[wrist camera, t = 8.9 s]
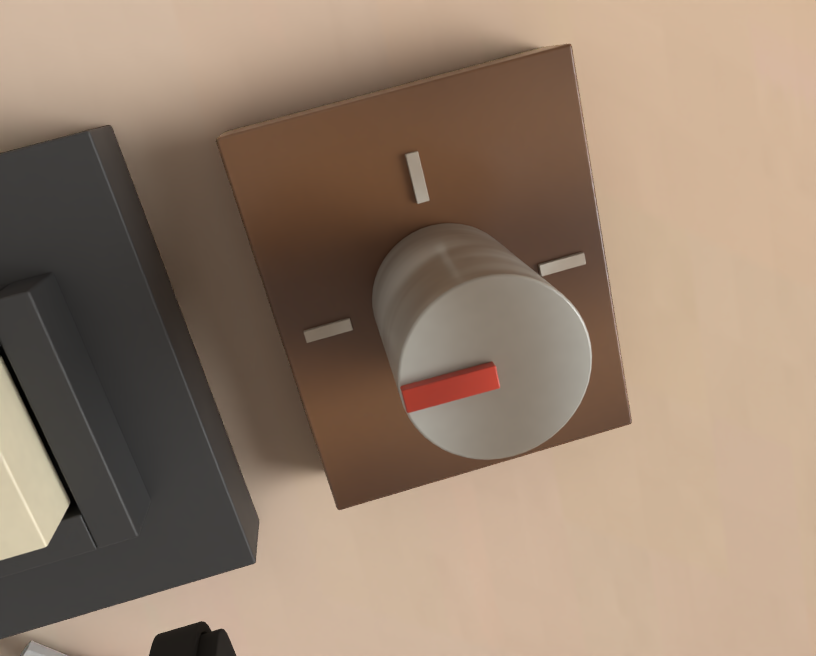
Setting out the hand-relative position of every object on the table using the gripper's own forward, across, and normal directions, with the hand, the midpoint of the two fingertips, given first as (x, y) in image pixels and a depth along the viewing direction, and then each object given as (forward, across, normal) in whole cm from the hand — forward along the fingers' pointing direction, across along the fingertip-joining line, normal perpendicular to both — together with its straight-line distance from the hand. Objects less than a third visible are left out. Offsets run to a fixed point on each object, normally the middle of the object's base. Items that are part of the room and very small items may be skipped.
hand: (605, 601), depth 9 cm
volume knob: (+13, -1, 0) cm, 13 cm away
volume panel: (+16, 0, 0) cm, 16 cm away
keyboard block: (+16, +14, 0) cm, 21 cm away
